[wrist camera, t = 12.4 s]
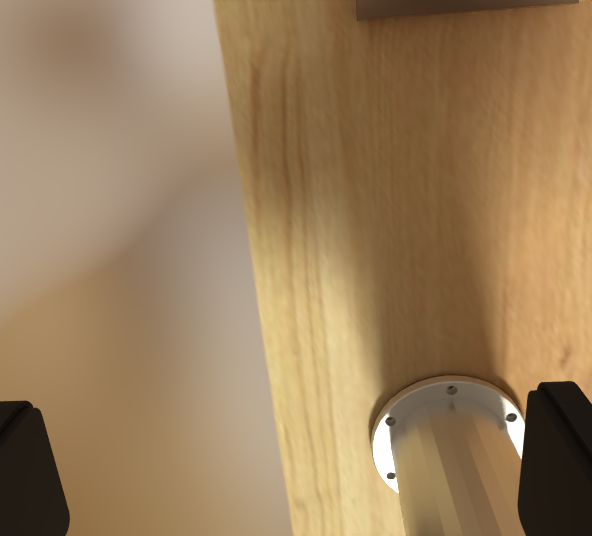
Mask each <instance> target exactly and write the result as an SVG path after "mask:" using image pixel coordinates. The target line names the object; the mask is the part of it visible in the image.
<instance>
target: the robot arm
mask: <svg viewBox="0 0 592 536" xmlns="http://www.w3.org/2000/svg"><path fill="white" fill-rule="evenodd" d="M371 446H372V455H373V459H374V463H375V466H376V468H377V470H378V472H379V474H380V476H381V477H382V478H383V480H384V481H385V482H386V483H387V484H388V486H390V487H391V488H392V489H393V490H395V491H396V492H397V493H398V494H399V500H400V505H401V511H402V517H403V523H404V528H405V534H406V536H592V404H591V403H590V401H589V400H588V399H587V397H586V396H585V395H584V393H583V392H582V391H581V389H580V388H579V387H578V385H577V384H576V383H575V382H572V381H564V382H541V383H540V384H539V386H538V388H537V390H534V391H530V392H529V394H528V398H527V408H526V419H525V420H524V418H523V416H522V414H521V412H520V410H519V409H518V407H517V406H516V404H515V403H514V402H513V400H512V399H511V398H510V397H509V396H508V395H507V394H506V393H504V392H503V391H502V390H501V389H499V388H497V387H496V386H494V385H492V384H491V383H488V382H486V381H483V380H480V379H477V378H473V377H467V376H439V377H433V378H429V379H426V380H423V381H420V382H417V383H414V384H413V385H411V386H409V387H407V388H405V389H403V390H402V391H400V392H399V393H398V394H396V395H395V396H394V397H393V398H391V399H390V401H389V402H388V403H387V404H386V405H385V406H384V407H383V408H382V410H381V412H380V413H379V415H378V417H377V418H376V421H375V424H374V427H373V430H372V438H371ZM69 522H70V515H69V510H68V506H67V503H66V499H65V495H64V492H63V489H62V485H61V481H60V478H59V474H58V471H57V467H56V463H55V460H54V456H53V453H52V449H51V446H50V442H49V438H48V435H47V431H46V427H45V424H44V420H43V417H42V414H41V411H40V410H39V409H38V408H33V405H32V404H31V403H30V402H28V401H0V536H65V535H66V533H67V531H68V527H69Z"/></svg>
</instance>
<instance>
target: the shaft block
mask: <svg viewBox="0 0 592 536" xmlns="http://www.w3.org/2000/svg"><path fill="white" fill-rule="evenodd" d="M574 3H579V0H357V21H359V20H372V19H385V18H398V17H411V16H424V15H437V14H450V13H464V12H477V11H490V10H503V9H516V8H529V7H542V6H555V5H568V4H574Z"/></svg>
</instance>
